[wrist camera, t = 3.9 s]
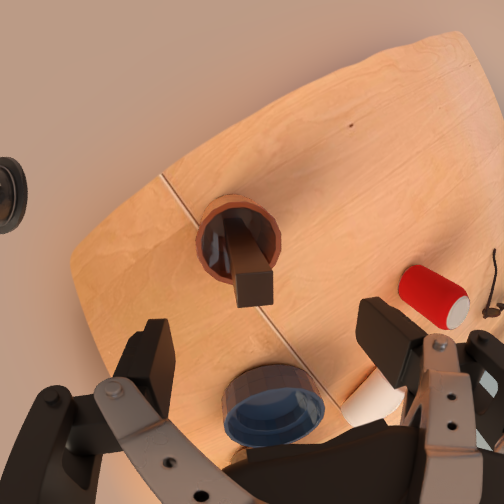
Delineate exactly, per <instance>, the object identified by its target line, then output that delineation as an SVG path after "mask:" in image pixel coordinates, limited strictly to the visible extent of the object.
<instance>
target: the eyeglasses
mask: <svg viewBox="0 0 504 504" xmlns="http://www.w3.org/2000/svg"><path fill="white" fill-rule="evenodd" d="M495 253H496V249H494V250H493V262H494V266H495V275H494V280H493V284H492V288H491V292H490V295H489V299H488V302H487V305H486V309H484V310H483V311H482V314H483V315H484V316H483V318H484V319H486V318H487V317H497V316H499V315H500V314H501V311H502V310H503V309H504V304H503V303H498V304H497V306H498V307H499V308H500V310H499V309H495V308H489V306H490V302H491V298H492V294H493V290H494V286H495V281H496V276H497V265H496V260H495Z"/></svg>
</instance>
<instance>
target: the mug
mask: <svg viewBox="0 0 504 504" xmlns="http://www.w3.org/2000/svg"><path fill="white" fill-rule="evenodd" d="M406 389H407V387H406V386H403V387H400V388H398V389H395V390H394V388H393V387H392V386H391V384H390V383H389V382H388V381H387V379H386V378H385V377H384V375H383V374H382V373H381V372H380V370H379V369H378V368H376V369H375V370H374V371H373V372H372V373H371V374H370V376H369V377H368V378H367V379H366V380H365V381H364V382H363V383H362V384H361V385H360V386H359V388H358V389H357V390H356V391H355V392H354V393H353V394H352V395H351V396H350V397H349V398H348V399H347V400H346V401H345V402H344V403H343V404H342V405H341V412H342V414H343V416H344V418H345V419H346V420H347V422H348V423H349V424H350V425H351V426H353V427H357V426H360V425H363V424H366V423H369V422H372V421H375V420H378V419H381V418H383V419H384V418H385V417H386V416H387V415H389V414H391V413H392V412H393V411H395V410H396V409H397V408H398V406H399V405H400V403H401V402H402V400H403V399H404V396H405V392H406Z"/></svg>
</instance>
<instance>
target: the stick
mask: <svg viewBox="0 0 504 504" xmlns="http://www.w3.org/2000/svg"><path fill="white" fill-rule="evenodd" d="M224 232H225V240H226V246H227V252H228V258H229V264H230V269H231V275H232V281H233V286H234V292H235V297H236V303H237V307H238V308H243V307H254V306H265V305H273V271H272V269H271V267H270V266H269V264H268V262H267V261H266V259H265V257H264V255H263V254H262V252H261V250H260V249H259V247H258V245H257V244H256V242H255V240H254V239H253V237H252V235H251V234H250V232H249V230H248V229H247V227H246V225H245V224H244V222H243V220H242V219H241V218H227V219H224Z"/></svg>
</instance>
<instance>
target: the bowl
mask: <svg viewBox="0 0 504 504" xmlns="http://www.w3.org/2000/svg"><path fill="white" fill-rule="evenodd" d="M222 409H223V422H224V428H225V433H226V434H227V435H228V436H229V437H230V438H231V440H233V441H235V442H237V443H238V444H240V445H243V446H247V447H252V448H259V447H267V446H274V445H280V444H290V443H293V442H295V441H298V440H299V439H301V438H303V437H305V436H307V435H308V434H309V433H310V432H312V431H313V430H314V429H315V428H316V427H317V426H318V425H319V423H320V422H321V420H322V419H323V416H324V412H325V406H324V403H323V400H322V397H321V395H320V393H319V391H318V389H317V387H316V385H315V383H314V381H313V379H312V377H311V376H310V375H308V374H307V373H306V372H305V371H304V370H301V369H299V368H296V367H294V366H288V365H278V364H277V365H269V366H262V367H258V368H256V369H253V370H250V371H247V372H245V373H244V374H242V375H241V376H239V377H237V378H236V379H234V380H233V381H232V382H231V384H230V385H229V386H228V387H227V388H226V389H225V392H224V395H223V398H222Z"/></svg>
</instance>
